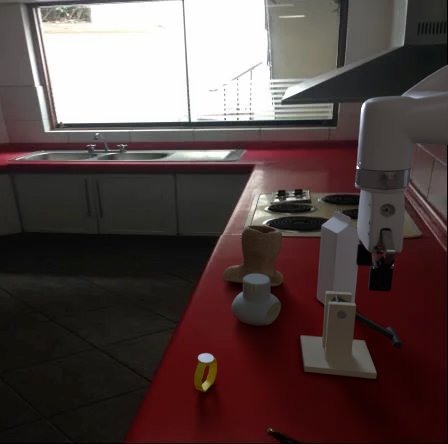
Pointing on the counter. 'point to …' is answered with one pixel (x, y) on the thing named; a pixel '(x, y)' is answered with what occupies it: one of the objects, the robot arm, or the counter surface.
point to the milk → (338, 257)
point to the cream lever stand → (337, 342)
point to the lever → (376, 326)
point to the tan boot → (257, 255)
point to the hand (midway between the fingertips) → (372, 276)
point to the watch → (203, 361)
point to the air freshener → (256, 301)
